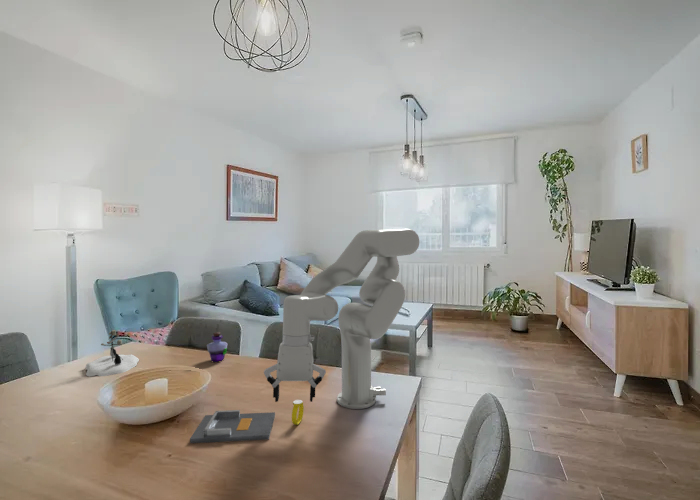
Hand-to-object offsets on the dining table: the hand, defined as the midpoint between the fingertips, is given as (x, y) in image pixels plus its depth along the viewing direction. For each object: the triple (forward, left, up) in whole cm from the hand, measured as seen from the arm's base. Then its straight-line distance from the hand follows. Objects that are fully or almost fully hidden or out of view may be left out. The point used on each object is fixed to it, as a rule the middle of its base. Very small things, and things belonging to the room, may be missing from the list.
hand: (294, 399), depth 100 cm
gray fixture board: (+16, +1, -7) cm, 18 cm away
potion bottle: (+37, -55, -7) cm, 67 cm away
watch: (-1, -1, -7) cm, 7 cm away
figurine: (+78, -51, -7) cm, 93 cm away
